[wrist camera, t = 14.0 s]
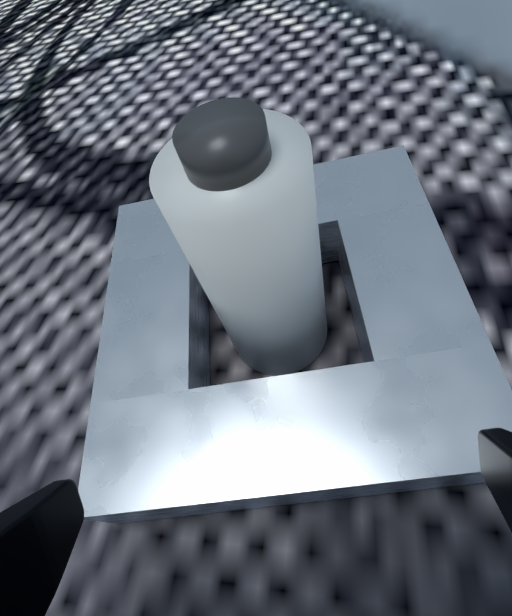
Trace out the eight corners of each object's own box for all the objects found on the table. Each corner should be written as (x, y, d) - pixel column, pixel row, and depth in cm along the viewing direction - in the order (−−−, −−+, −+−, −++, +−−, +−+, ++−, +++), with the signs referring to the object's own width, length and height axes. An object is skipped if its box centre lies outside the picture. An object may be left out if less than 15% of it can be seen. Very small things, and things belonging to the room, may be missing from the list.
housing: (509, 479, 14) (544, 464, 12) (116, 523, 16) (73, 518, 14) (397, 191, 22) (403, 145, 20) (142, 242, 24) (119, 206, 22)
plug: (314, 385, 17) (277, 199, 8) (221, 363, 19) (101, 183, 10) (336, 300, 19) (327, 73, 10) (251, 285, 21) (176, 75, 12)
